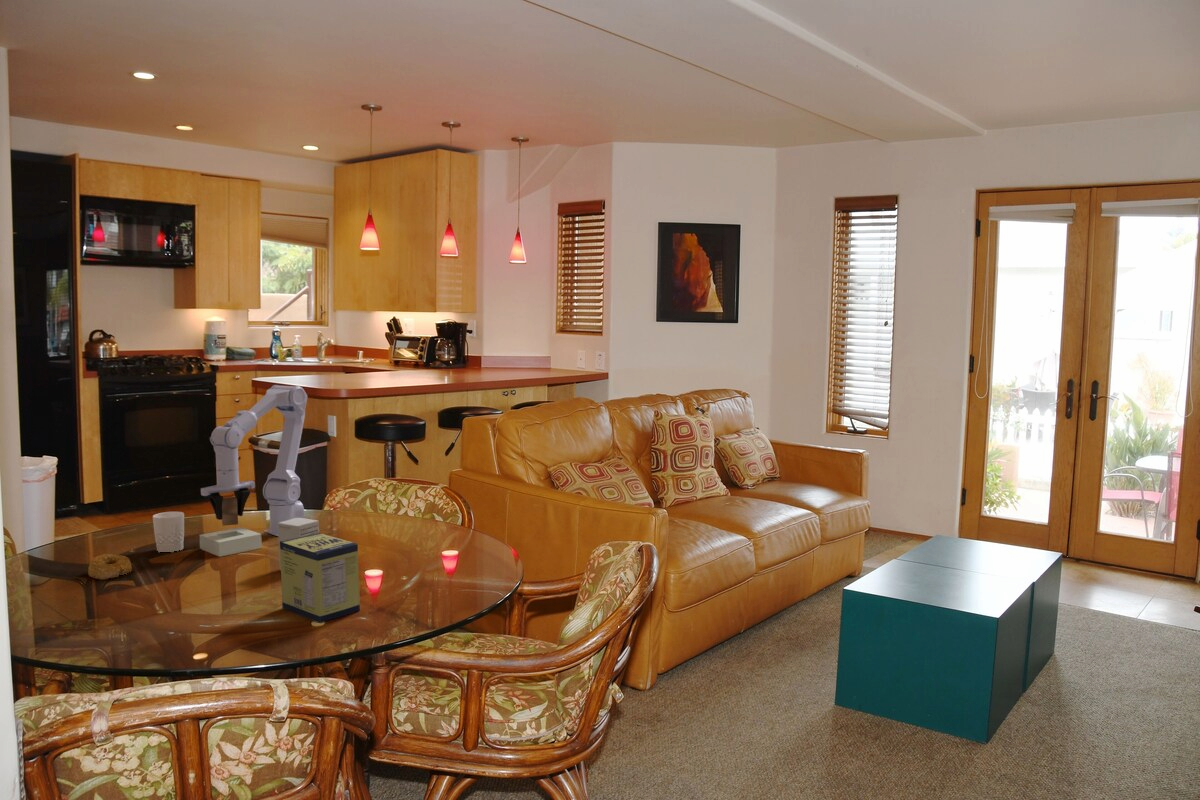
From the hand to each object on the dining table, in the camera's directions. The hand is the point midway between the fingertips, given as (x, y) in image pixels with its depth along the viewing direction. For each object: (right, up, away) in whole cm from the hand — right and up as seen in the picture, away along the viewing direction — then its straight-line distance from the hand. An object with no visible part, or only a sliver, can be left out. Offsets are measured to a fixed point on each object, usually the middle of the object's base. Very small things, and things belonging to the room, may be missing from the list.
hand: (229, 517), depth 251 cm
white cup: (-16, -9, -1) cm, 19 cm away
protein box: (+41, -15, -49) cm, 65 cm away
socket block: (0, -9, +1) cm, 9 cm away
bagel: (-21, -12, -23) cm, 33 cm away
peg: (0, -2, 0) cm, 2 cm away
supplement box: (+26, -11, -18) cm, 33 cm away
